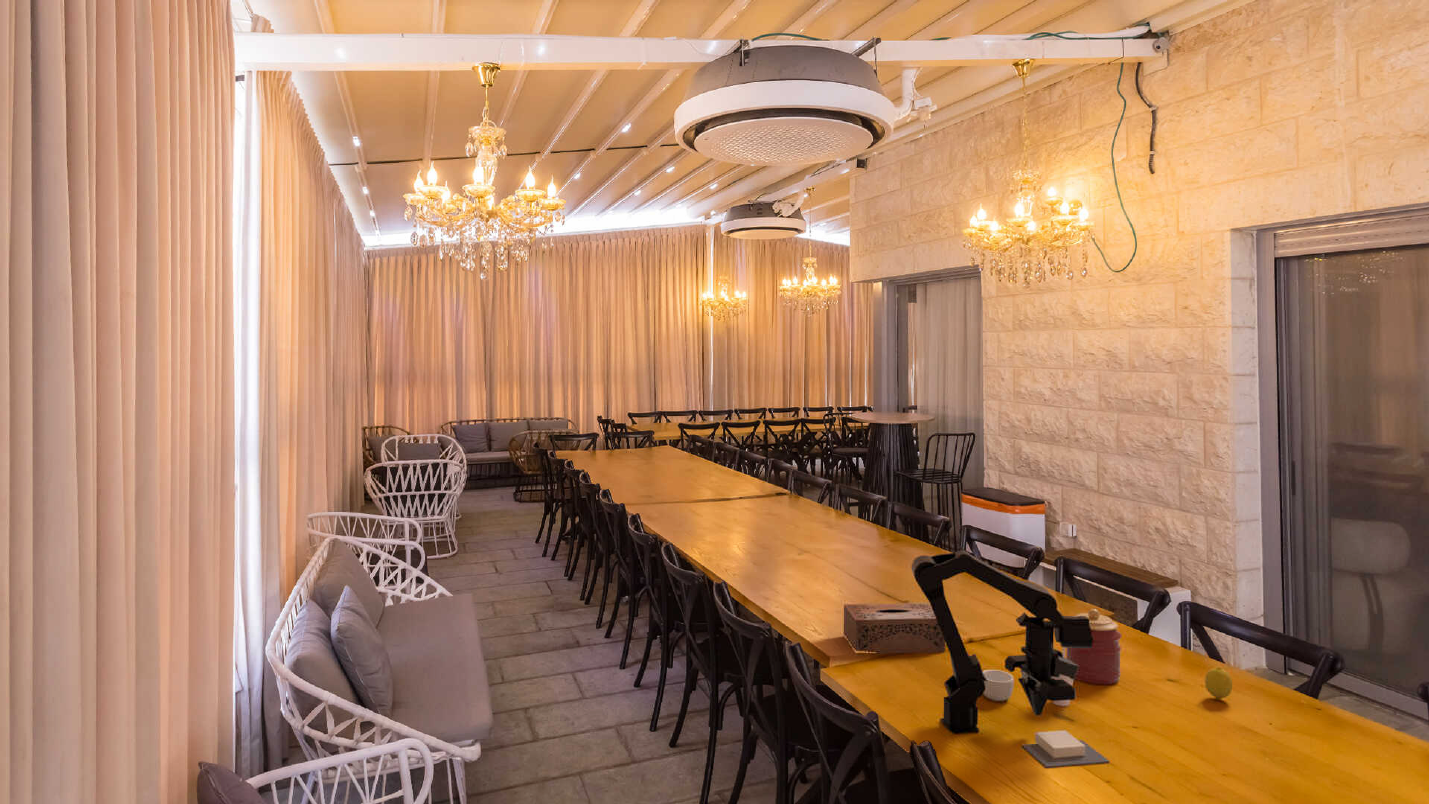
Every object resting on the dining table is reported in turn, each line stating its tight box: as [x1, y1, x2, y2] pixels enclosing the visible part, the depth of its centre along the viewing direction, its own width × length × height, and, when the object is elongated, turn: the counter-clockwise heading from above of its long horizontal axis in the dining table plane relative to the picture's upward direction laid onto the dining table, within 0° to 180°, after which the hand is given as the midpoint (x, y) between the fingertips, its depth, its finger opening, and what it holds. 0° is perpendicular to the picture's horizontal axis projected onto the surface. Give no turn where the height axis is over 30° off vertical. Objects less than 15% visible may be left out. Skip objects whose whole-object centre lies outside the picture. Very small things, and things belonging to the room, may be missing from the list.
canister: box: [1065, 608, 1122, 685], centre depth 203 cm, size 13×13×18 cm
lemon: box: [1204, 666, 1233, 700], centre depth 188 cm, size 6×6×8 cm
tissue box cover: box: [843, 602, 946, 655], centre depth 226 cm, size 26×14×10 cm, turn 94°
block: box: [1034, 729, 1085, 758], centre depth 163 cm, size 7×2×7 cm
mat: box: [1021, 739, 1110, 769], centre depth 162 cm, size 14×9×1 cm, turn 99°
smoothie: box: [1051, 647, 1074, 707], centre depth 186 cm, size 6×6×14 cm
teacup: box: [982, 669, 1015, 702], centre depth 190 cm, size 10×8×5 cm
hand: (1037, 714), depth 171 cm, fingers closed
